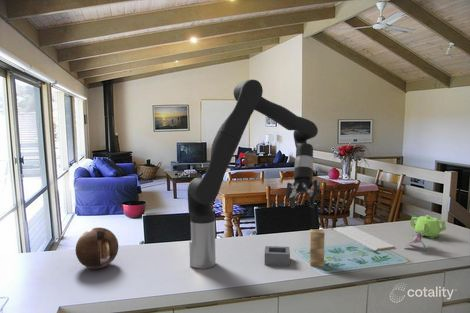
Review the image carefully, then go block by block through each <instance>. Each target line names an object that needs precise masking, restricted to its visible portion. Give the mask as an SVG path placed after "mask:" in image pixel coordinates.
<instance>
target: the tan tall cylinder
mask: <svg viewBox="0 0 470 313" xmlns="http://www.w3.org/2000/svg"><path fill="white" fill-rule="evenodd" d="M325 235H326V234H325V230H324V229H309V266H311V267H325Z"/></svg>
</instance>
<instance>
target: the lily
mask: <svg viewBox="0 0 470 313" xmlns="http://www.w3.org/2000/svg"><path fill="white" fill-rule="evenodd" d="M425 229H426V228H425ZM425 229H424V230H425ZM424 230H423V231H424ZM421 231H422V230H421ZM421 231H420V232H419V233H418V234H417V233H416V235H411V237H413V238H414V239H413V240H412V241H410V242H409V243H408V244H407V246H408V245H409V246H411V245H412V244H415V243H416V244H417V243H419V244H420V243H421V244H422V245H423V246H424V248H425V250H426V251H428V248H427V247H426V245H425V244H424V243H423V241H422V237H421V235H422V233H423V231H422V233H421ZM405 248H406V247H404V249H405Z"/></svg>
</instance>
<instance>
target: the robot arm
mask: <svg viewBox="0 0 470 313" xmlns="http://www.w3.org/2000/svg"><path fill="white" fill-rule="evenodd" d="M263 92H264V91H263V85H262V83H261V82H260V81H259V80H257V79H247V80H245V81H241V82H239V83H237V84H236V85H235V87H234V89H233V97H234V99H235V101H236V104H235V106H234V108H233V110H232V111H231V112H230V114H229V115H228V116H227V118H226V119H225V120H224V121H223V123H222V124H221V125H220V127H219V128H218V131H217V132H216V135H215V136H214V138H213V142H212V144H211V149H210V160H209V164H208V167H207V169H206V171H205V173H204V175H203V177H194V178H193V179H192V180H191V181H190V182H189V183H188V186H187V205H188V206H187V208H188V213H189V214H188V215H189V217H190V241H189V266H190V268H191V267H193V268H195V269H200V270H205V269H206V270H207V269H209V268H212V267H214V266H216V259H217V258H216V214H215V211H214V210H213V208H212V203H213V202H214V201H216V199H217V197H218V195H219V192H220V190H221V187H222V184H223V180H224V178H225V175H226V172H227V170H228V168H229V165H230V163H231V161H232V158H233V157H234V155H235V152H236V150H237V148H238V146H239V145H240V142H241V139H242V136H243V134H244V132H245V130H246V128H247V125H248V123H249V121H250V119H251V116H252V115H253V113H254V111H256V112H258V113H260V114H262V115H263V116H266V117H268V118H269V119H271V120H272V121H273V122H275V123H277V124H278V125H279V126H281V127H283V128H284V129H285V130H287V131H293V139H294V140H293V141H294V145H295V159H294V160H295V161H294V171H293V172H294V174H293V179H294V180H293V183H291V182H287V183H286V184H287V185H286V191H285V196H286V198H289V207H290V209H291V208H292V209H295V208H296V198H297V196H299V195H300V194H303V193H305V194H308V195H309V199H308V200H309V202H308V207H310V208H313V207H314V206H315V205H316V203H315V202H316V198H317V197H320V196H321V187H320V185H321V184H320V181H319V180H316V179H314V147H313V145H312V144H311V143H307V142H308V140H310V139H313V138H316V136H317V135H318V132H319V128H318V126H317V125H316V124H315V123H314V122H313V121H311V120H309V119H307V118H305V117H301V116H298V115H297V114H295V113H294V112H292V111H291V110H289V109H288V108H286V107H285V106H282V105H280V104H277V103H275V102H272V101H270V100H268V99H267V98H264V97H263ZM313 179H314V180H313ZM312 186H313V187H312ZM312 188H313V189H312Z"/></svg>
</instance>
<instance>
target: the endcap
mask: <svg viewBox="0 0 470 313" xmlns="http://www.w3.org/2000/svg"><path fill="white" fill-rule="evenodd" d="M290 251H291V250H290V246H277V245H276V246H275V245H274V246H273V245H265V246H264V266H277V267H279V266H280V267H290V266H291V265H290V264H291V262H290V261H291V260H290V259H291V254H290V253H291V252H290Z"/></svg>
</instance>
